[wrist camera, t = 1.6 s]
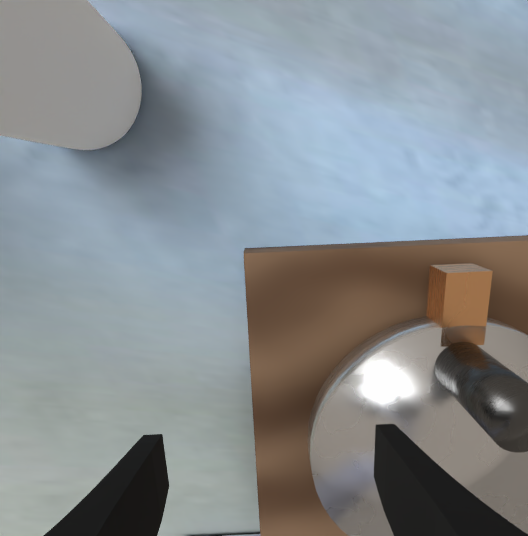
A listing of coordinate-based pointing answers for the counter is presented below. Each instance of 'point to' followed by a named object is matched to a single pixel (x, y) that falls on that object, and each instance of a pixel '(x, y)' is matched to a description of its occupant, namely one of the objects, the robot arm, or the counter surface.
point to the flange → (428, 405)
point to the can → (64, 75)
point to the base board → (340, 341)
